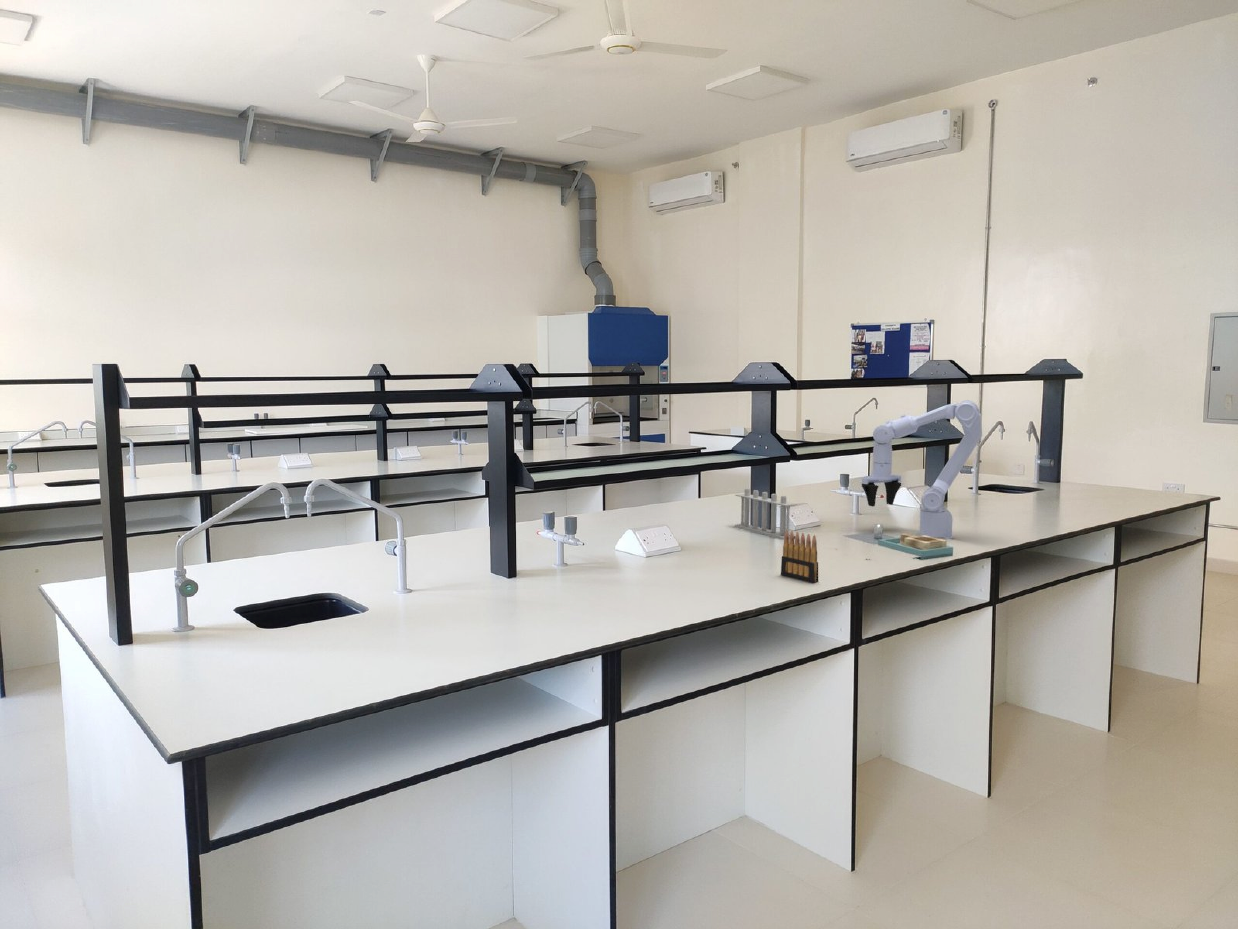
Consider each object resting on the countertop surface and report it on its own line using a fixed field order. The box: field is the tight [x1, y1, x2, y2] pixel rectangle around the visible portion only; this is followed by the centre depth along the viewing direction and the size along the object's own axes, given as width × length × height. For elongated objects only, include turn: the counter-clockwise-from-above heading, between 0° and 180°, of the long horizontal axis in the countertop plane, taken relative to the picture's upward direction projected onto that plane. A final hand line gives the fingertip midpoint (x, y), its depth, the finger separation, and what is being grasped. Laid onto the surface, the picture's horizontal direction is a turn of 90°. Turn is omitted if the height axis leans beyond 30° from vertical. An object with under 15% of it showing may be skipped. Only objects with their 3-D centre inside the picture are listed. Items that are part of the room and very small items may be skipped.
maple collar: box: [899, 533, 947, 550], centre depth 244 cm, size 12×8×4 cm, turn 26°
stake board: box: [843, 523, 897, 545], centre depth 259 cm, size 14×13×5 cm
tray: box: [877, 536, 954, 561], centre depth 244 cm, size 12×17×2 cm
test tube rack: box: [734, 488, 797, 541], centre depth 272 cm, size 25×4×13 cm, turn 31°
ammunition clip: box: [780, 530, 819, 584], centre depth 214 cm, size 11×2×12 cm, turn 39°
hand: (880, 505), depth 269 cm, fingers open, 7 cm apart
